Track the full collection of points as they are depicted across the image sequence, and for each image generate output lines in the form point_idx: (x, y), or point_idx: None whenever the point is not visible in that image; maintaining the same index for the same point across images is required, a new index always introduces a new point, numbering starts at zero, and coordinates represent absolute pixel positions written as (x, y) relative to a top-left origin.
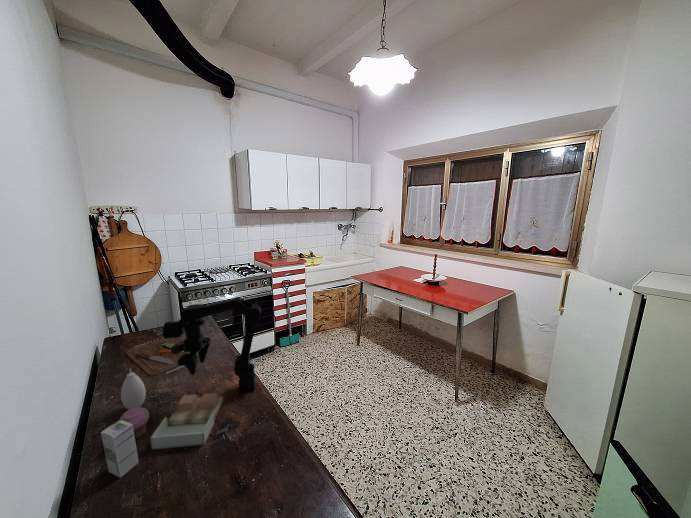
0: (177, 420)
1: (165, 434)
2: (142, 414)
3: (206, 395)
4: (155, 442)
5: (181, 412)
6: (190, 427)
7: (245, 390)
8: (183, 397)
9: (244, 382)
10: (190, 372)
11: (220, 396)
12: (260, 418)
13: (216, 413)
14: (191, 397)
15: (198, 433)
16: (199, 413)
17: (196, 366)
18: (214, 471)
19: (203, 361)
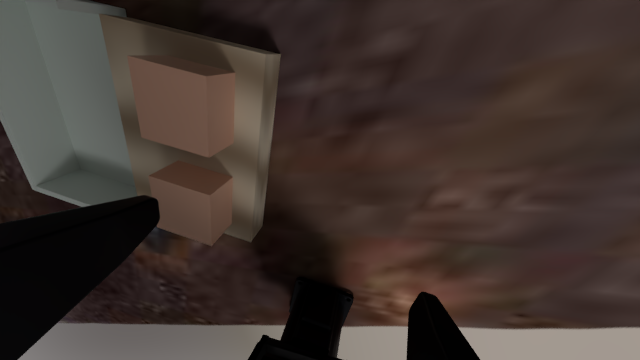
0: (112, 67)
1: (80, 22)
2: None
3: (196, 204)
4: None
5: None
6: None
7: (296, 296)
8: (187, 78)
9: (284, 329)
10: (84, 211)
11: (249, 234)
12: (176, 292)
13: None
14: (184, 131)
15: (26, 175)
16: (153, 159)
17: (14, 350)
18: (28, 192)
19: (409, 331)
